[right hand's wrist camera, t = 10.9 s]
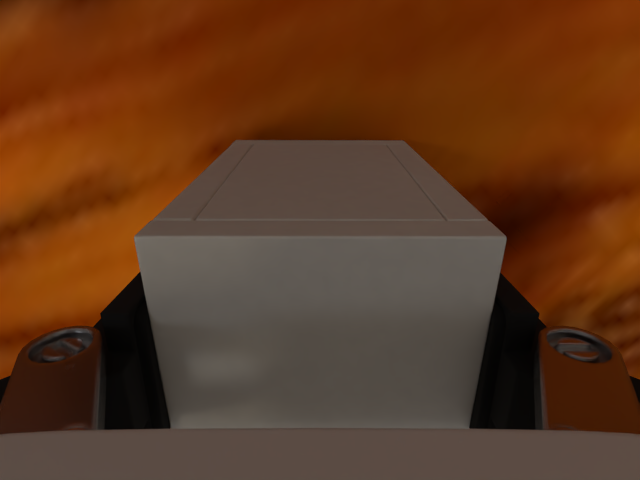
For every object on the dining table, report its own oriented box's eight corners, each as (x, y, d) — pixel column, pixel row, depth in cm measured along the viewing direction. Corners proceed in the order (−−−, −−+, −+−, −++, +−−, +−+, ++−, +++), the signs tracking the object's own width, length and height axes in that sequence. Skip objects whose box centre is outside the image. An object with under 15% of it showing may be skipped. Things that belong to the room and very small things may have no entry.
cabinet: (378, 450, 22) (416, 697, 14) (259, 450, 22) (221, 697, 14) (404, 139, 16) (508, 237, 7) (235, 139, 16) (132, 236, 7)
